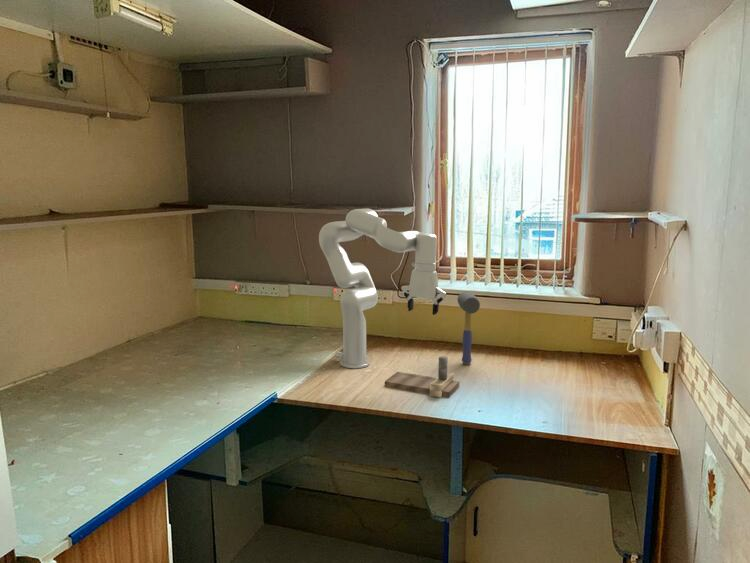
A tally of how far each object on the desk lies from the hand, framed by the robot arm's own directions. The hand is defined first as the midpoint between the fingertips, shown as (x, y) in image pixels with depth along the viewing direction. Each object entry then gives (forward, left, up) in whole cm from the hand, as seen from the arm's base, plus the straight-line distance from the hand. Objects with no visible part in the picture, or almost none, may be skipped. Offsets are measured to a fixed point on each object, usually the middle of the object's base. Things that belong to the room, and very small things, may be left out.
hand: (422, 312), depth 214 cm
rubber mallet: (+10, +27, -27) cm, 39 cm away
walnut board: (+2, -6, -27) cm, 28 cm away
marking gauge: (+10, -6, -27) cm, 29 cm away
